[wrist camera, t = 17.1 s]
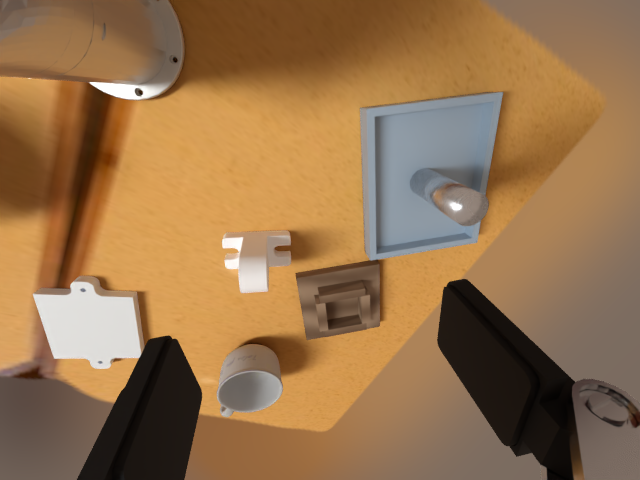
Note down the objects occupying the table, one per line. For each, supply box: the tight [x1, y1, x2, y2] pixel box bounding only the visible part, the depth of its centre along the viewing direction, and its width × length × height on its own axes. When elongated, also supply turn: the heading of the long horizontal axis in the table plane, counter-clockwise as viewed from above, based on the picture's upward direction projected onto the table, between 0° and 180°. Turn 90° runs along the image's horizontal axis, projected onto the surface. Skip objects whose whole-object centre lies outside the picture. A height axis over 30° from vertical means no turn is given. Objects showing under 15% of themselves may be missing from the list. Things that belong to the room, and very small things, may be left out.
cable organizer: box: [222, 230, 291, 293], centre depth 41 cm, size 5×10×10 cm, turn 88°
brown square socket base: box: [296, 260, 380, 340], centre depth 50 cm, size 14×14×4 cm
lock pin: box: [410, 168, 489, 226], centre depth 38 cm, size 4×4×12 cm
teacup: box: [217, 344, 283, 417], centre depth 52 cm, size 14×11×8 cm
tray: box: [360, 92, 503, 261], centre depth 42 cm, size 22×18×3 cm
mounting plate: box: [33, 276, 145, 369], centre depth 46 cm, size 18×13×2 cm
